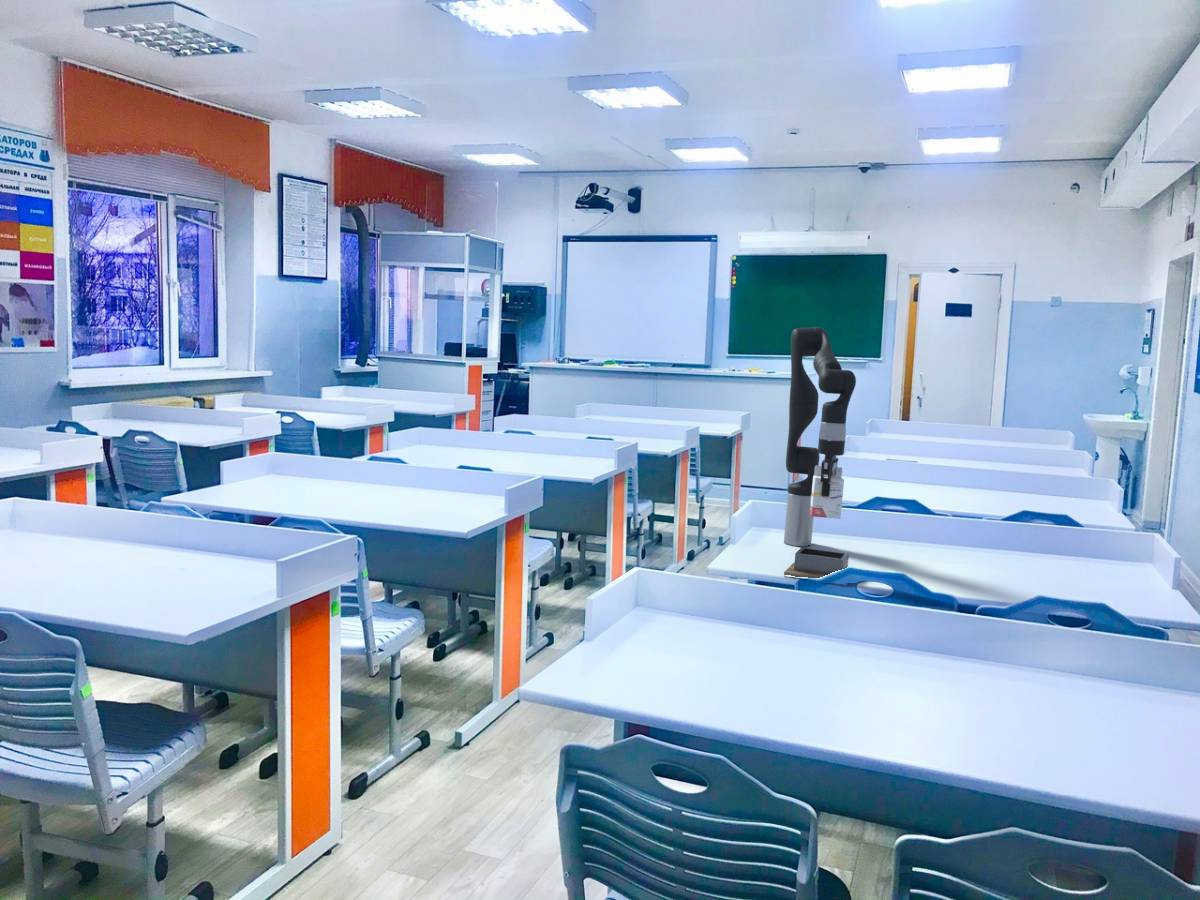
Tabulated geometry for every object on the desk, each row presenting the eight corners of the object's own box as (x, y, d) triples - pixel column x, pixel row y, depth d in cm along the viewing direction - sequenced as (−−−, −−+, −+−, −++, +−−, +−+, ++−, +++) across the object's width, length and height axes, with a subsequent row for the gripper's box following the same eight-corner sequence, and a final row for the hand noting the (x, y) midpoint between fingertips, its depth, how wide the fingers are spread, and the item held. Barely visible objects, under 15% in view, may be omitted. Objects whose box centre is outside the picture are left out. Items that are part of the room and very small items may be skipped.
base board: (796, 564, 301) (796, 559, 300) (855, 572, 294) (856, 568, 294) (783, 576, 284) (784, 571, 284) (846, 586, 277) (846, 580, 277)
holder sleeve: (800, 563, 296) (802, 547, 295) (847, 569, 291) (848, 553, 290) (793, 569, 287) (795, 553, 286) (842, 576, 282) (843, 560, 281)
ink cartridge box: (811, 516, 285) (815, 467, 283) (809, 513, 290) (813, 465, 288) (841, 519, 284) (845, 469, 282) (838, 516, 289) (842, 467, 287)
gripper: (823, 434, 292) (818, 490, 294) (814, 438, 279) (809, 496, 281) (848, 437, 289) (844, 493, 291) (841, 441, 276) (835, 499, 278)
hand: (827, 494), depth 286 cm, fingers closed on ink cartridge box, 5 cm apart
